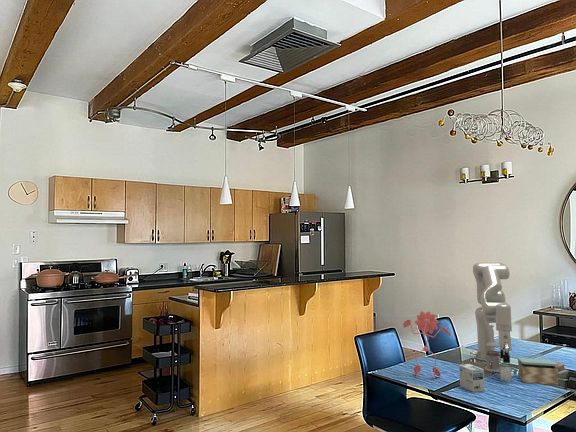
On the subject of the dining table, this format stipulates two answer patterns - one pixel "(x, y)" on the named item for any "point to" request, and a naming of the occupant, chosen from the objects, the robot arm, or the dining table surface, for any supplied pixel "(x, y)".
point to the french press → (493, 354)
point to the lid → (537, 362)
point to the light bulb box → (472, 377)
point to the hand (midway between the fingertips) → (505, 360)
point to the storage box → (538, 374)
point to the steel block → (505, 373)
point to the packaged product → (560, 368)
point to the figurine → (426, 324)
